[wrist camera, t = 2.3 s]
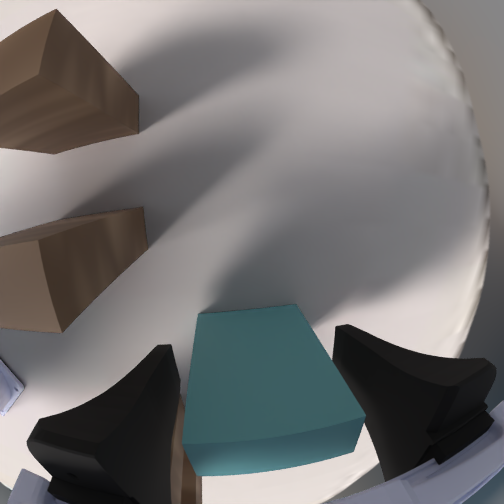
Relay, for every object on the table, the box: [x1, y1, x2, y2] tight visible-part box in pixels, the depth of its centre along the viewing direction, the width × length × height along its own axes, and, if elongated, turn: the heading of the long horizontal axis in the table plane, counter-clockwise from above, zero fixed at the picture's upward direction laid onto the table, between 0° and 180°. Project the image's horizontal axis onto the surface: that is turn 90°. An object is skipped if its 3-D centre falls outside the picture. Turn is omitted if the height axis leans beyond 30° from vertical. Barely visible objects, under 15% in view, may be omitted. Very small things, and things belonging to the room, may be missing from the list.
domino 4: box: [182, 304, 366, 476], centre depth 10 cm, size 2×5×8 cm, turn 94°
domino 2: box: [0, 207, 148, 333], centre depth 8 cm, size 2×5×8 cm, turn 93°
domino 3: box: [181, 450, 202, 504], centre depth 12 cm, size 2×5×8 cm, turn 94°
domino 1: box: [0, 9, 139, 154], centre depth 7 cm, size 2×5×8 cm, turn 93°
